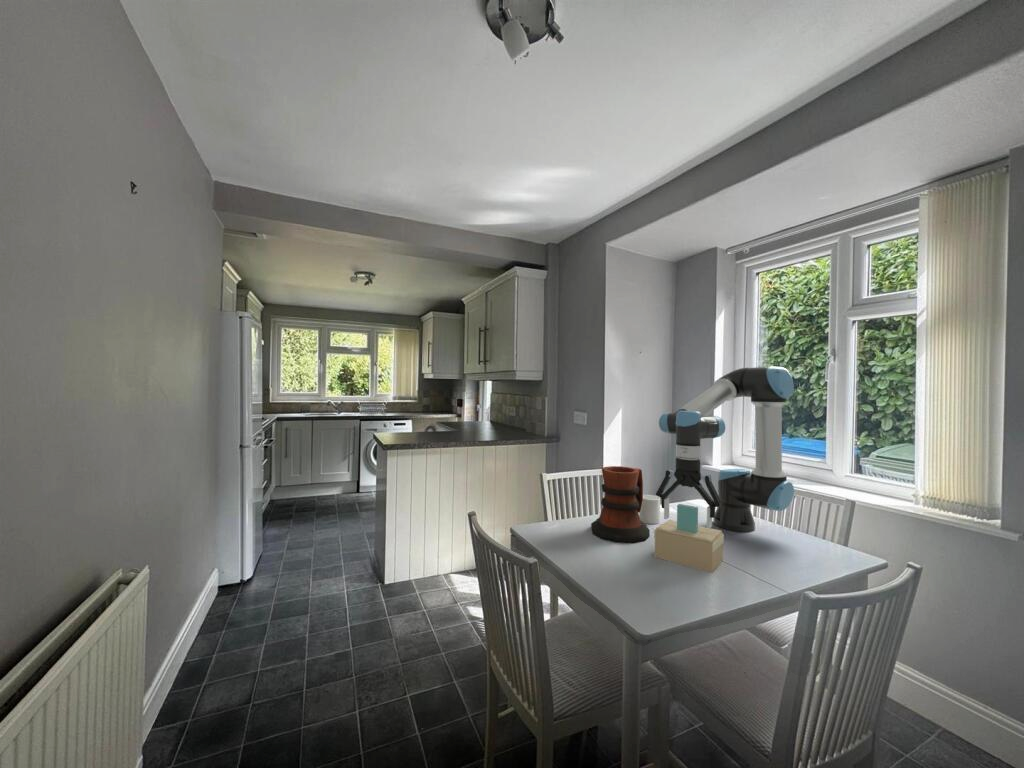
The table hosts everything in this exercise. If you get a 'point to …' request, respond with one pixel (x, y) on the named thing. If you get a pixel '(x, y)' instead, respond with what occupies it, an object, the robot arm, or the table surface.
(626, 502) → the tankard
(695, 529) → the flap
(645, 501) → the cup
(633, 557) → the table surface
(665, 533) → the carton
